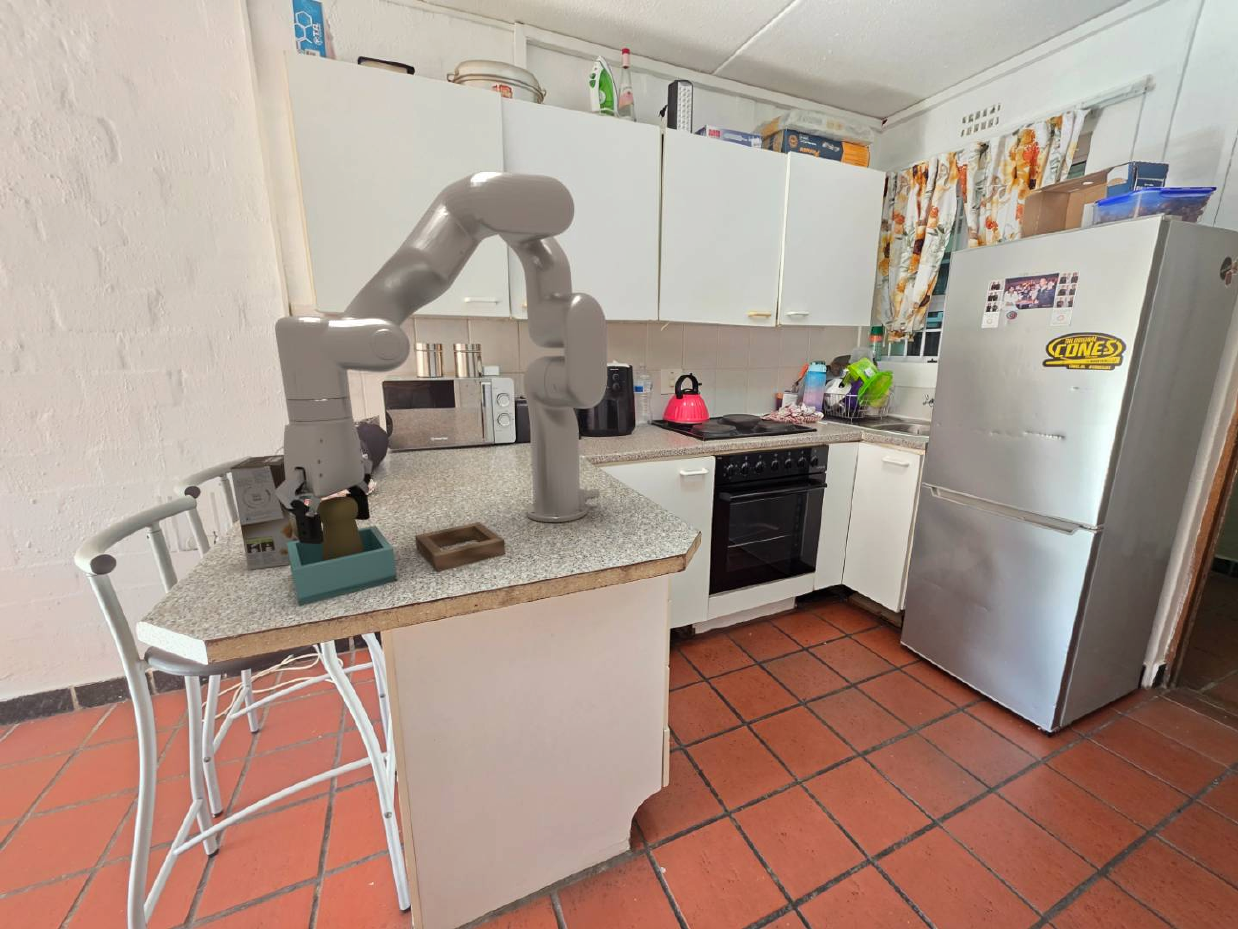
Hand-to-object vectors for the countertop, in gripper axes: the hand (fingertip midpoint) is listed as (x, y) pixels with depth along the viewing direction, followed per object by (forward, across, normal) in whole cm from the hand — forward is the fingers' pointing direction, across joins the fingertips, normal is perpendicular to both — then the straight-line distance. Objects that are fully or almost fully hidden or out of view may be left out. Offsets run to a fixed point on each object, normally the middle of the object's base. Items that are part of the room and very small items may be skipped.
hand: (337, 530), depth 70 cm
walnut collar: (+7, -11, +13) cm, 19 cm away
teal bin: (+7, 0, 0) cm, 7 cm away
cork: (+6, 0, 0) cm, 7 cm away
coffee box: (+8, -6, -16) cm, 18 cm away
